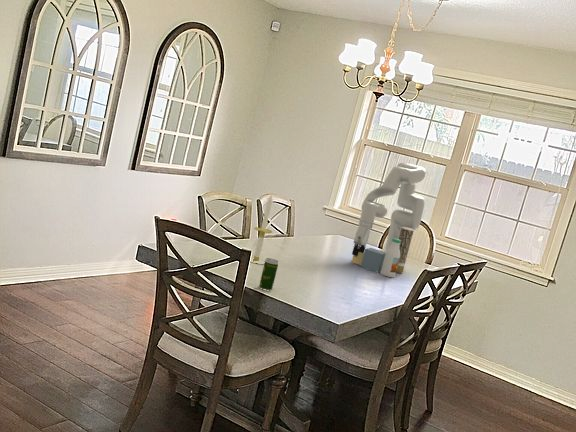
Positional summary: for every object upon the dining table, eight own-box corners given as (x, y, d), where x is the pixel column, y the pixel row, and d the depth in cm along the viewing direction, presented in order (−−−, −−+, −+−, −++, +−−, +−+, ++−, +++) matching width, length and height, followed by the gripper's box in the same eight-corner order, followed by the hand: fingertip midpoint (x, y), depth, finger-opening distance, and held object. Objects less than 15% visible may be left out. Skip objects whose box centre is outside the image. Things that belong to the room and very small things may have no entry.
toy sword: (242, 260, 310) (258, 191, 305) (248, 257, 319) (264, 190, 315) (262, 266, 307) (279, 196, 303) (268, 262, 317) (284, 195, 313)
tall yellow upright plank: (352, 261, 371) (354, 250, 370) (372, 268, 366) (375, 256, 366) (351, 262, 370) (354, 250, 369) (371, 268, 365) (374, 257, 365)
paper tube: (402, 274, 371) (413, 230, 368) (390, 271, 372) (401, 227, 369) (402, 272, 377) (414, 229, 374) (390, 269, 379) (402, 226, 375)
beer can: (271, 288, 270) (278, 259, 268) (272, 292, 264) (279, 262, 263) (258, 285, 269) (265, 257, 267) (259, 289, 264) (266, 260, 262)
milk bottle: (383, 276, 352) (393, 239, 350) (378, 272, 360) (387, 236, 357) (396, 278, 354) (406, 242, 352) (391, 274, 362) (400, 238, 359)
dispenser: (366, 265, 372) (370, 247, 371) (383, 270, 368) (387, 253, 367) (360, 266, 364) (365, 248, 362) (377, 272, 360) (382, 254, 358)
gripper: (364, 222, 376) (356, 252, 378) (354, 222, 360) (346, 253, 362) (376, 226, 373) (368, 256, 375) (367, 226, 357) (358, 257, 359)
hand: (357, 254), depth 369 cm, fingers open, 9 cm apart
